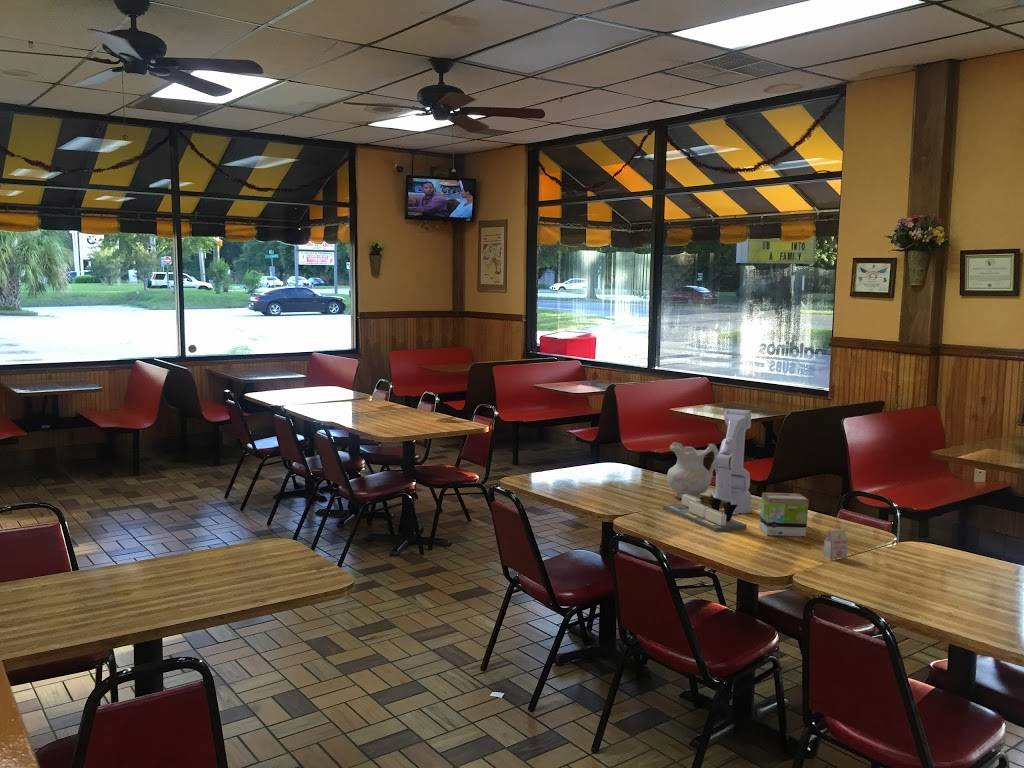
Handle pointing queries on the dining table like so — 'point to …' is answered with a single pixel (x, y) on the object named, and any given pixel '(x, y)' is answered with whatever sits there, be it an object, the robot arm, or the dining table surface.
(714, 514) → the slider
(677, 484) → the ceramic pitcher
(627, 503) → the dining table surface
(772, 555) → the dining table surface
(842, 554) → the white gable top carton
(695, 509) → the slider
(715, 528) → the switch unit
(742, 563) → the dining table surface
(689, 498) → the slider
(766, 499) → the tea box
